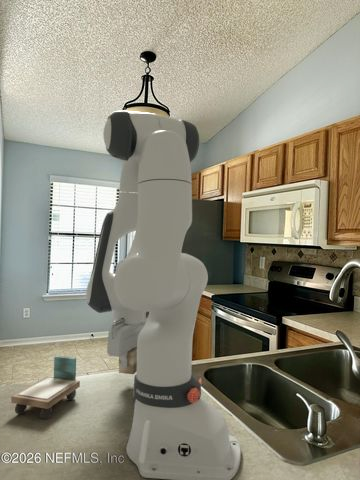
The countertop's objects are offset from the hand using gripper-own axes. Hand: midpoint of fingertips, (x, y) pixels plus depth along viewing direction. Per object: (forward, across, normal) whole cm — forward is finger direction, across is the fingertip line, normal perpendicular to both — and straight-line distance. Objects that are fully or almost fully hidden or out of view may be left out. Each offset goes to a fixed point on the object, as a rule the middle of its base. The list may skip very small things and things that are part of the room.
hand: (129, 363), depth 97 cm
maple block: (+2, 0, 0) cm, 2 cm away
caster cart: (+6, -18, +14) cm, 24 cm away
